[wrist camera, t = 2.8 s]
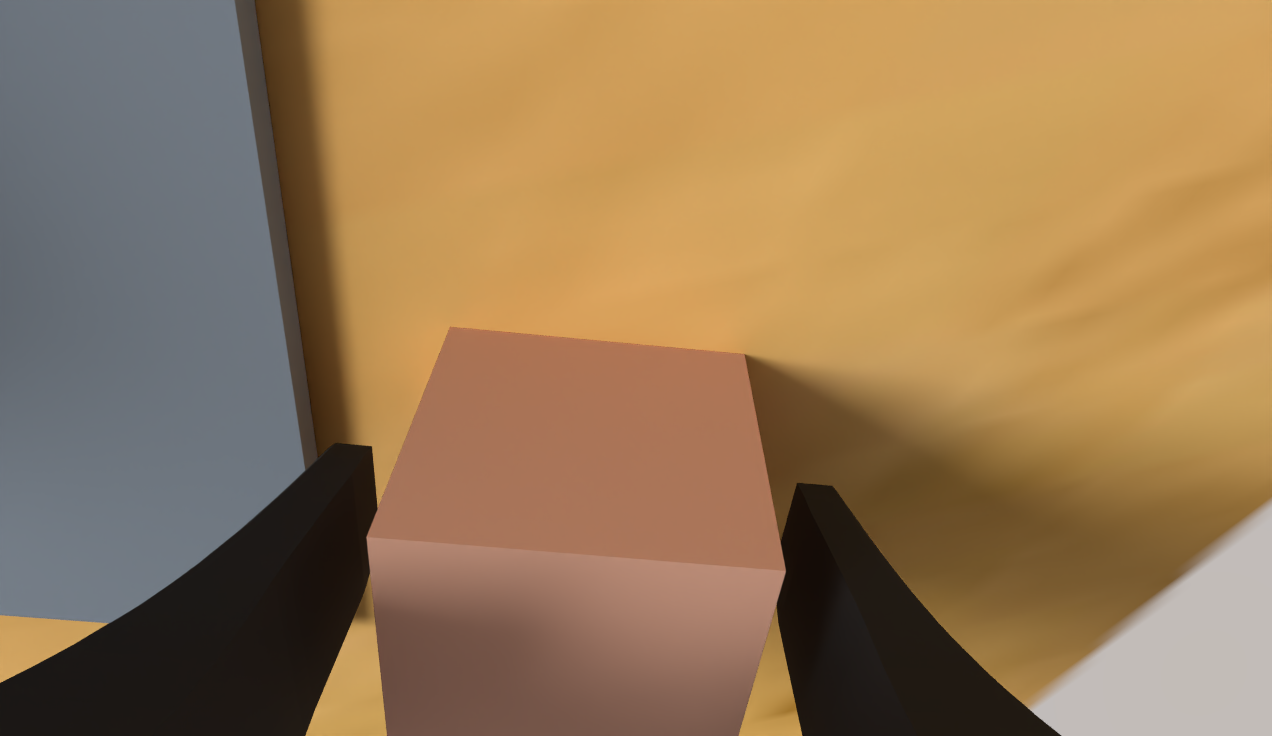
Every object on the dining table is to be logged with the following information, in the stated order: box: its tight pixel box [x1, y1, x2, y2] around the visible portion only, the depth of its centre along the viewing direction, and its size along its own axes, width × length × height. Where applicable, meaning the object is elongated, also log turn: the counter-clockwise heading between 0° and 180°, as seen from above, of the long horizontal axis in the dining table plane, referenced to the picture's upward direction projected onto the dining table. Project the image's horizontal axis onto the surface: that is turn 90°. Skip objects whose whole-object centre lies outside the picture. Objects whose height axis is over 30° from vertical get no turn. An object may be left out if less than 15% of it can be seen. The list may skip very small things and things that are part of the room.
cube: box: [367, 327, 786, 736], centre depth 13 cm, size 5×5×5 cm
